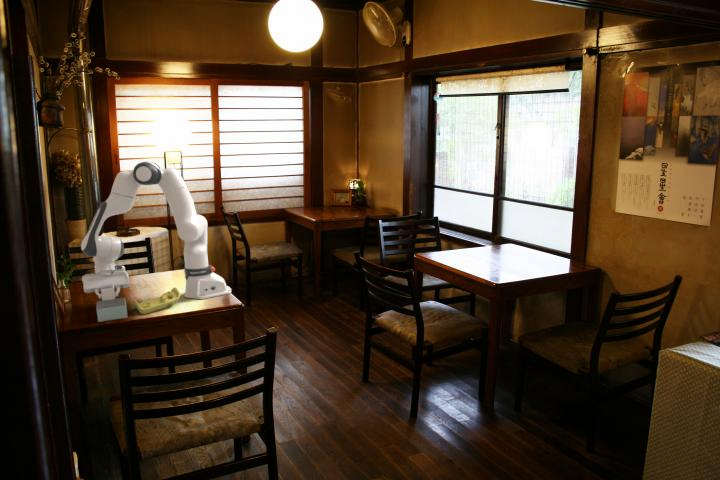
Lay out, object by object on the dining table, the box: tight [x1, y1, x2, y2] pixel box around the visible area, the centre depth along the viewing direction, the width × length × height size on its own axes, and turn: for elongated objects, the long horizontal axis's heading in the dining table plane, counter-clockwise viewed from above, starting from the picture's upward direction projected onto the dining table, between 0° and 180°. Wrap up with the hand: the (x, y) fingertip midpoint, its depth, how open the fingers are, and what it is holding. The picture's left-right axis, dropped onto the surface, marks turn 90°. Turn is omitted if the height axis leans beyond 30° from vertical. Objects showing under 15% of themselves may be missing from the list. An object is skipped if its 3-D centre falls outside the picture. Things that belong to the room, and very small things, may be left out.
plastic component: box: [132, 287, 181, 315], centre depth 275 cm, size 20×7×10 cm
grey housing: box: [100, 284, 116, 301], centre depth 276 cm, size 6×6×11 cm
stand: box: [96, 297, 129, 323], centre depth 265 cm, size 12×12×6 cm
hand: (108, 297), depth 275 cm, fingers closed on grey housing, 5 cm apart
